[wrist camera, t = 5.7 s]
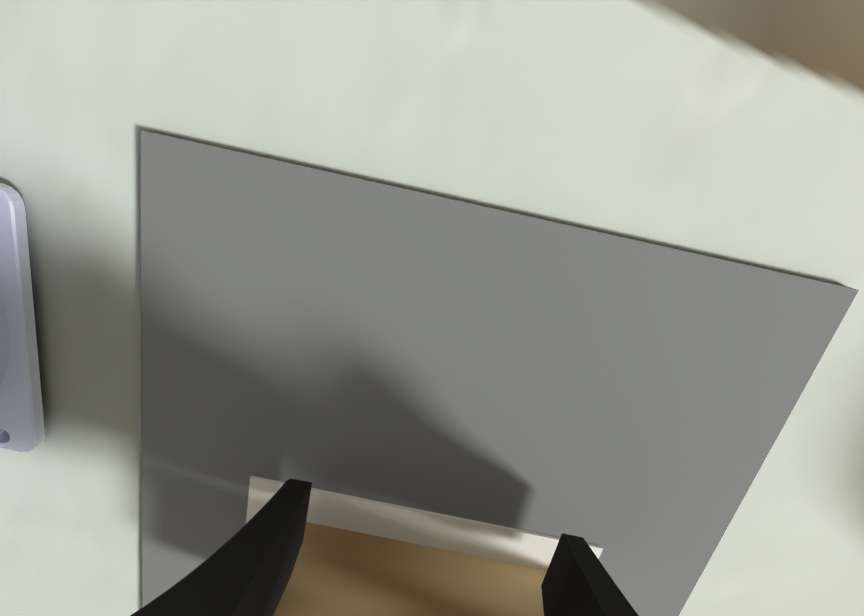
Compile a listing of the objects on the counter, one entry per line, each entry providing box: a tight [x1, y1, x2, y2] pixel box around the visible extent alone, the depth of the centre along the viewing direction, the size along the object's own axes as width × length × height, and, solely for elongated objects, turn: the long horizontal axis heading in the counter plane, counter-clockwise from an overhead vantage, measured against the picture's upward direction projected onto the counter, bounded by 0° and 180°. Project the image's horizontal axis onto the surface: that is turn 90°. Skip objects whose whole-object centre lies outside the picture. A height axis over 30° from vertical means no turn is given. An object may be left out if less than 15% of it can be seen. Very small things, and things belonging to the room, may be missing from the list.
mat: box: [141, 131, 858, 616], centre depth 14 cm, size 18×22×1 cm
